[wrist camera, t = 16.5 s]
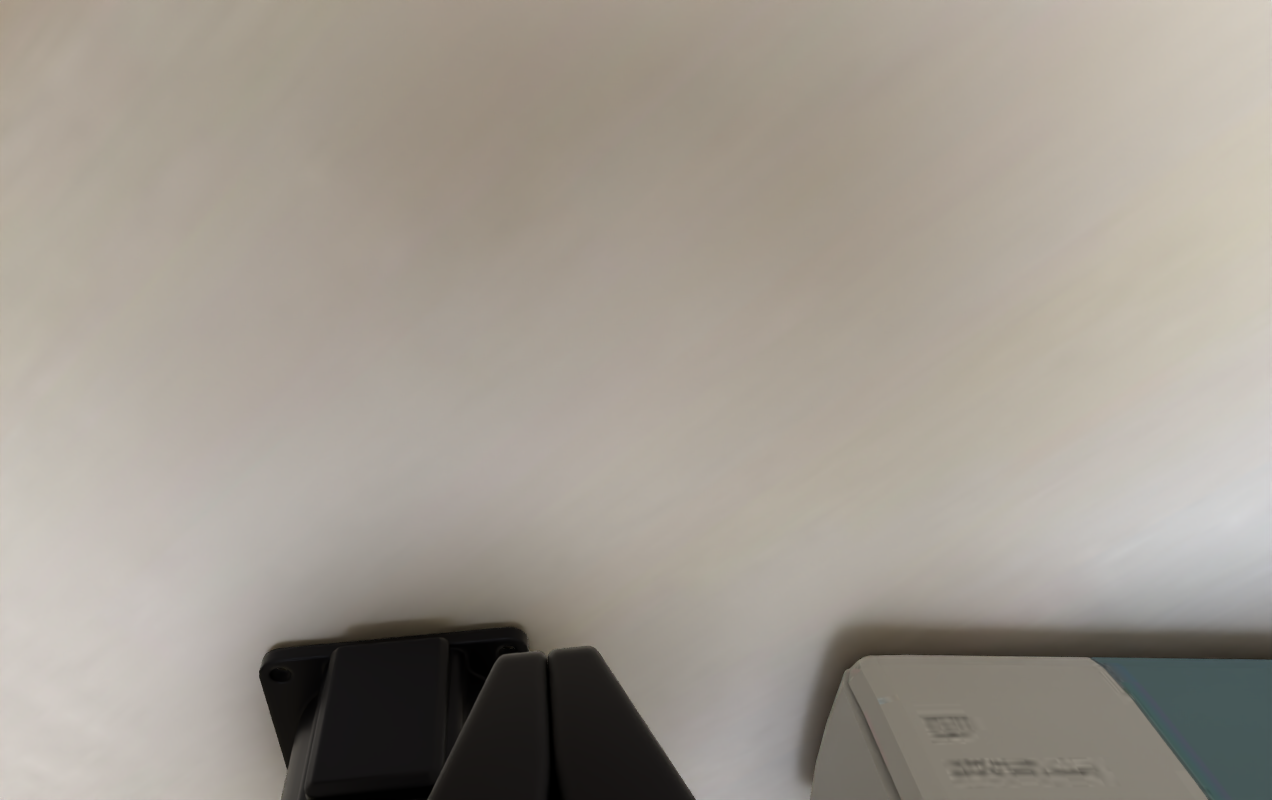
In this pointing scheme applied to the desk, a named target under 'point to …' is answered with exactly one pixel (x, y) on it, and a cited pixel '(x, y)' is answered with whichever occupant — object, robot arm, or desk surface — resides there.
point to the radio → (1048, 729)
